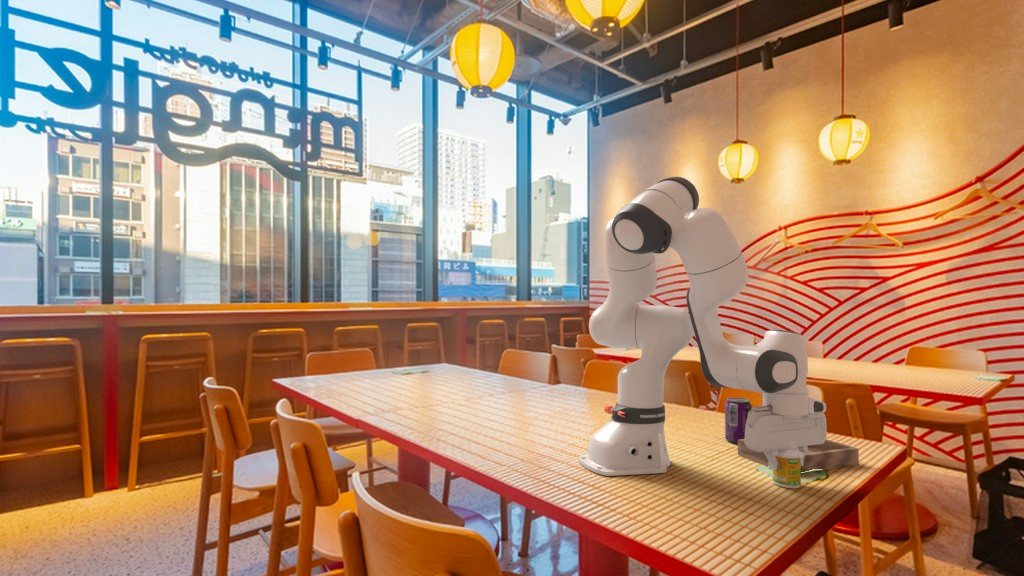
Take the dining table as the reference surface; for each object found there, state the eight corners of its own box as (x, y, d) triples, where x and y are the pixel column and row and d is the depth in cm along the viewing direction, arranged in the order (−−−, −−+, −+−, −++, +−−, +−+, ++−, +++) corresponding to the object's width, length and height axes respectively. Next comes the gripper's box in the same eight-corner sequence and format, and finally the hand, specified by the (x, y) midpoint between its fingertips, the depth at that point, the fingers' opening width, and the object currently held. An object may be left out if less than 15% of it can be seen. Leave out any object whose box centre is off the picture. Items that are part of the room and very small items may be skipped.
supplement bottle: (790, 490, 104) (789, 444, 105) (767, 482, 109) (766, 438, 109) (806, 486, 107) (805, 440, 107) (782, 478, 112) (781, 435, 112)
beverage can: (757, 445, 138) (756, 401, 138) (731, 445, 138) (730, 401, 138) (745, 438, 145) (745, 397, 145) (721, 438, 145) (720, 397, 146)
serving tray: (791, 475, 114) (791, 457, 114) (737, 455, 129) (737, 439, 129) (858, 464, 121) (858, 448, 121) (800, 447, 136) (800, 432, 136)
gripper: (760, 410, 102) (761, 478, 102) (832, 403, 109) (833, 467, 108) (736, 404, 108) (737, 468, 108) (806, 398, 115) (807, 458, 114)
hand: (786, 467), depth 108 cm, fingers closed on supplement bottle, 5 cm apart
